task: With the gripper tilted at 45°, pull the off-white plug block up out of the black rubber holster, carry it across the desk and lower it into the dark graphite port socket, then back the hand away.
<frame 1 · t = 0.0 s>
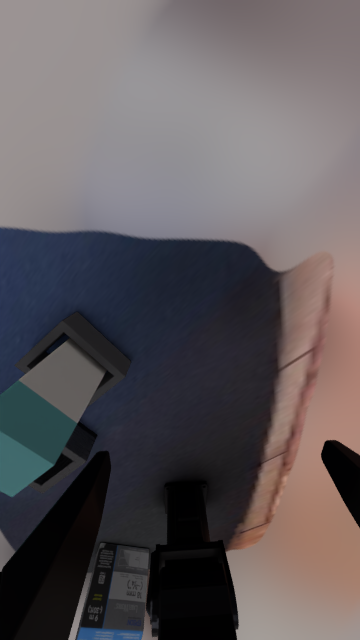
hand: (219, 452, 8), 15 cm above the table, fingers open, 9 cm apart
holster: (83, 356, 22), on the table
plug: (83, 356, 22), resting in holster
label tape cartridge: (123, 549, 35), on the table
port: (50, 432, 26), on the table
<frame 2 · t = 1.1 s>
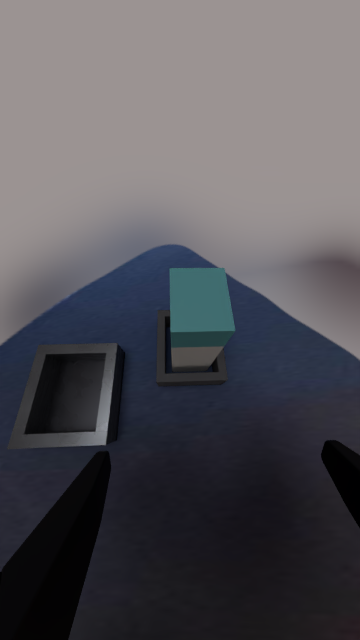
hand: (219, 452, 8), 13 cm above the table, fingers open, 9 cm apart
holster: (188, 350, 24), on the table
plug: (188, 350, 24), resting in holster
port: (84, 393, 21), on the table
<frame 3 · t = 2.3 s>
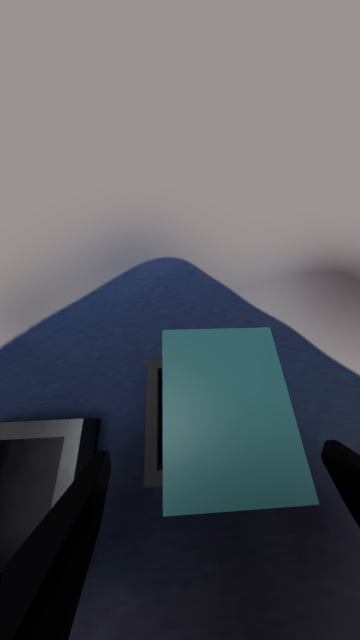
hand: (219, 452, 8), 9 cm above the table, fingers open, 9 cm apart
holster: (191, 413, 17), on the table
plug: (191, 413, 17), resting in holster
port: (34, 491, 14), on the table
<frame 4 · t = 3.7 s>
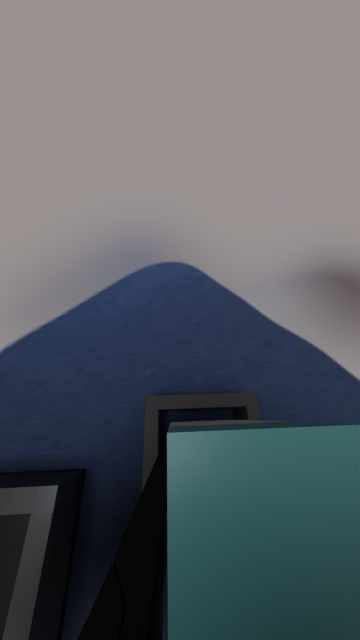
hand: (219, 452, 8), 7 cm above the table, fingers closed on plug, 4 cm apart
holster: (200, 461, 13), on the table
plug: (200, 461, 13), resting in holster, touching gripper
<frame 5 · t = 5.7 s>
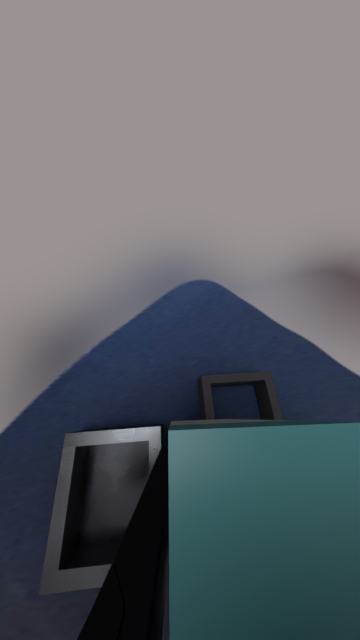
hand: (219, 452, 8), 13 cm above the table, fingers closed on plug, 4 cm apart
holster: (235, 417, 20), on the table
plug: (201, 461, 13), point 7 cm above the table, touching gripper
port: (120, 483, 18), on the table
when the fingers open (8 cm above the table, at t = 7.8 s): plug stays where it is, resting on port.
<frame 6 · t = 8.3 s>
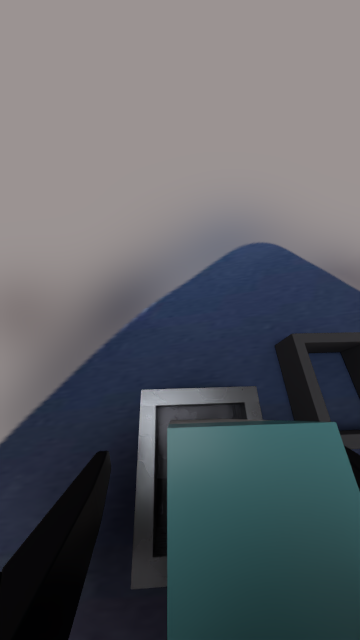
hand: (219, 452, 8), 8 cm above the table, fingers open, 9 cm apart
holster: (325, 388, 17), on the table
plug: (198, 458, 14), resting on port
port: (198, 457, 15), on the table
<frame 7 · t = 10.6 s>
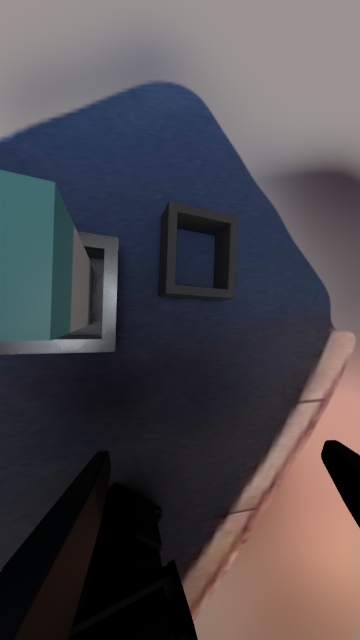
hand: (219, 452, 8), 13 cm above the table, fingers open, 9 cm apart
holster: (192, 261, 21), on the table
plug: (67, 294, 17), resting on port
port: (69, 295, 17), on the table
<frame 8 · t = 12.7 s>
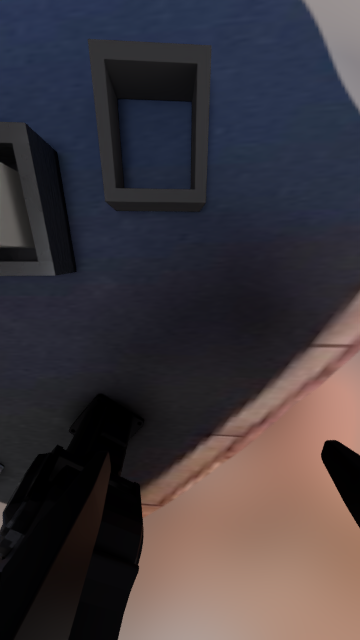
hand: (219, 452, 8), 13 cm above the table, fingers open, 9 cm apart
holster: (156, 153, 15), on the table
plug: (13, 215, 16), resting on port
port: (18, 216, 16), on the table
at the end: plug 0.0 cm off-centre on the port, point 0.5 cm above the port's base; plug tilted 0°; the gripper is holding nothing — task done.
